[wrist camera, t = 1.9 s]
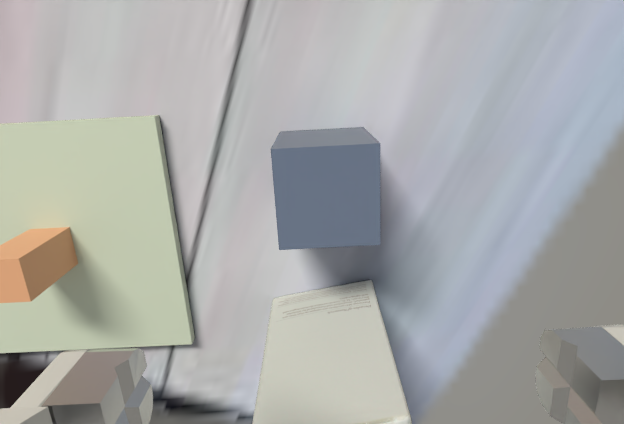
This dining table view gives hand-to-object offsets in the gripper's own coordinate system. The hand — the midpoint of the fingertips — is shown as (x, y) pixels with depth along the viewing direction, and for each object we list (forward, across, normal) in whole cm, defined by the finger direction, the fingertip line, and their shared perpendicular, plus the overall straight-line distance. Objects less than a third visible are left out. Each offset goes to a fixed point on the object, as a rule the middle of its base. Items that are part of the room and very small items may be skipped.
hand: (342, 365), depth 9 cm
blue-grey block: (+19, 0, 0) cm, 19 cm away
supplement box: (+20, 0, +12) cm, 23 cm away
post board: (+19, +18, +4) cm, 27 cm away
